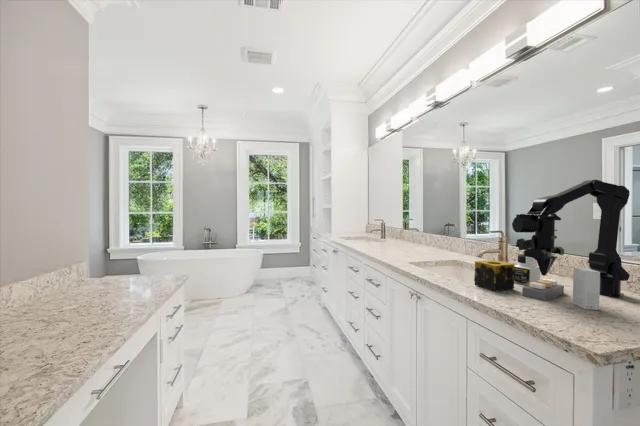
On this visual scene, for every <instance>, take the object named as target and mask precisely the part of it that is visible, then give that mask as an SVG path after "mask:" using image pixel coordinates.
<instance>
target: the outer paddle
mask: <svg viewBox="0 0 640 426" xmlns="http://www.w3.org/2000/svg"><path fill="white" fill-rule="evenodd" d="M529 287H533V288H538V289H545V288H546V284H541V283H536V282H531V283H529Z"/></svg>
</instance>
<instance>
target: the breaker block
mask: <svg viewBox="0 0 640 426" xmlns="http://www.w3.org/2000/svg"><path fill="white" fill-rule="evenodd" d="M564 286H565V285H563V284H559V283H557V285H552V286H551V287H546V288H545V289H538V288H533V287H529V285H528V286H527V285H524V286H523V287H522V290H521V291H522V292H521V293H522V295H521V296H523V297H527V298H531V299H535V300H540V301H545V302H546V301H549V300H551V299H554V298H556V297H558V296H561V295H563V294H564V293H565V287H564Z"/></svg>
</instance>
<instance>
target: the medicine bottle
mask: <svg viewBox="0 0 640 426" xmlns="http://www.w3.org/2000/svg"><path fill="white" fill-rule="evenodd" d="M538 280H541V272H540V269H539V266H536V260H535V259H534V258H532V257H524V253H522V254H518V255H517V264H514V284H519V285H524V286H528V285H529V283H531V282H536V281H538Z"/></svg>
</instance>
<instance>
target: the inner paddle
mask: <svg viewBox="0 0 640 426" xmlns="http://www.w3.org/2000/svg"><path fill="white" fill-rule="evenodd" d="M541 281H546V282H552V285H557V284H558V280H557V279H556V280H555V279H551V278H550V279H549V278H542V279H541Z"/></svg>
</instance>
